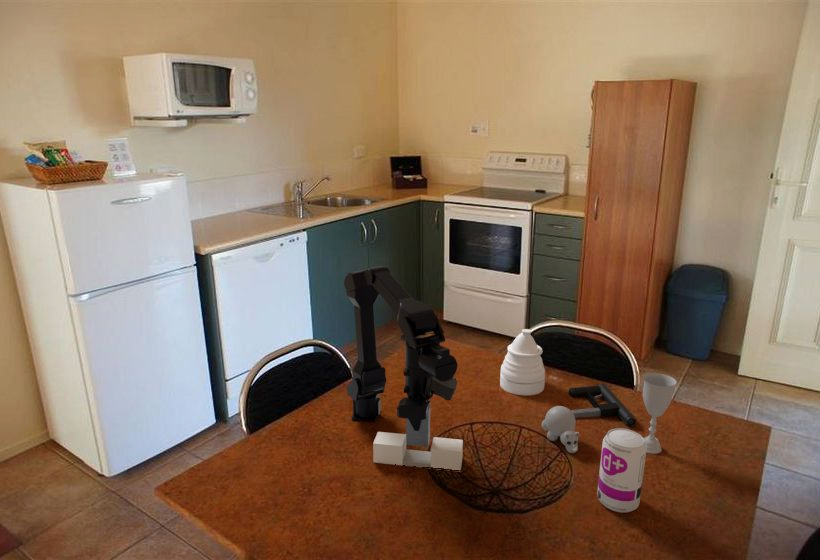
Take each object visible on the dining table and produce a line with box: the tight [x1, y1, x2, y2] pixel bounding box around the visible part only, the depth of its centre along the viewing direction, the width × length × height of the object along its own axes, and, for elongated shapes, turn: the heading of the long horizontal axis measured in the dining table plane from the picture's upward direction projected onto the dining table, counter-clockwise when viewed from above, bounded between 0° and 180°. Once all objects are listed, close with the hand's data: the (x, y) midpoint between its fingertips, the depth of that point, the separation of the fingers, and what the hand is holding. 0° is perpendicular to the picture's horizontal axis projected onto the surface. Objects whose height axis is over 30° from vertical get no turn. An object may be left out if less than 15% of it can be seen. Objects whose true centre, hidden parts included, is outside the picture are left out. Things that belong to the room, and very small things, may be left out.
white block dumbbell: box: [372, 431, 464, 471], centre depth 131 cm, size 20×5×5 cm, turn 80°
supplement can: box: [596, 427, 647, 513], centre depth 116 cm, size 8×8×15 cm
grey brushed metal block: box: [405, 400, 431, 448], centre depth 129 cm, size 5×3×10 cm, turn 80°
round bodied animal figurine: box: [541, 405, 580, 454], centre depth 138 cm, size 7×12×8 cm, turn 13°
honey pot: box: [499, 328, 546, 396], centre depth 166 cm, size 13×13×18 cm
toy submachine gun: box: [568, 383, 637, 428], centre depth 155 cm, size 3×20×16 cm
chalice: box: [641, 372, 678, 455], centre depth 135 cm, size 7×7×18 cm
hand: (418, 426), depth 130 cm, fingers closed on grey brushed metal block, 3 cm apart
